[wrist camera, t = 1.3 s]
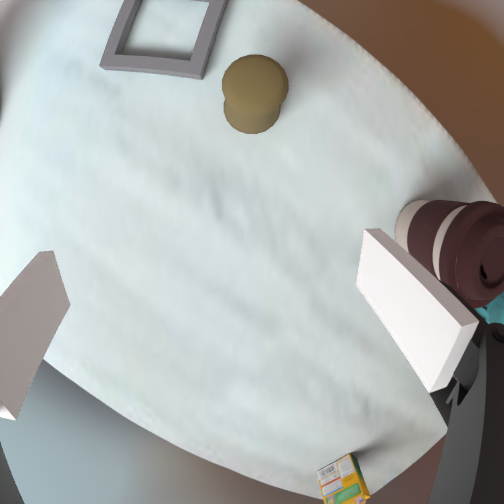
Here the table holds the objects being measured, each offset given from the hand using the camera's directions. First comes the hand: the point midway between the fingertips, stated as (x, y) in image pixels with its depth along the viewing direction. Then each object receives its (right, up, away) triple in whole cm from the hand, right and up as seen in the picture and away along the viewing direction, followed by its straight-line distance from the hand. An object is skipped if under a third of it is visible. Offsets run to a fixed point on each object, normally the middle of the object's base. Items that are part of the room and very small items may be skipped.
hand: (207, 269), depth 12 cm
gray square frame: (-8, +26, +16) cm, 32 cm away
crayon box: (+17, -38, +34) cm, 54 cm away
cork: (+2, +16, +19) cm, 25 cm away
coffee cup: (+22, +4, +23) cm, 32 cm away
